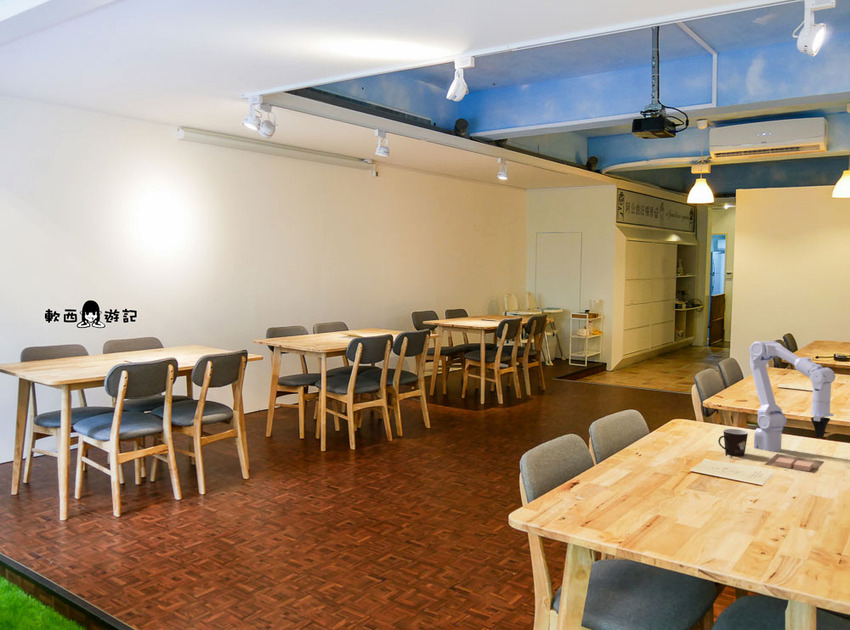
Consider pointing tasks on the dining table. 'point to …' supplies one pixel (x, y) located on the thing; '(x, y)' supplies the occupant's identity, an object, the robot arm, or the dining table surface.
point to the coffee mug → (734, 442)
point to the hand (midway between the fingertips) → (819, 437)
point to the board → (815, 462)
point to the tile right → (803, 465)
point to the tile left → (784, 462)
